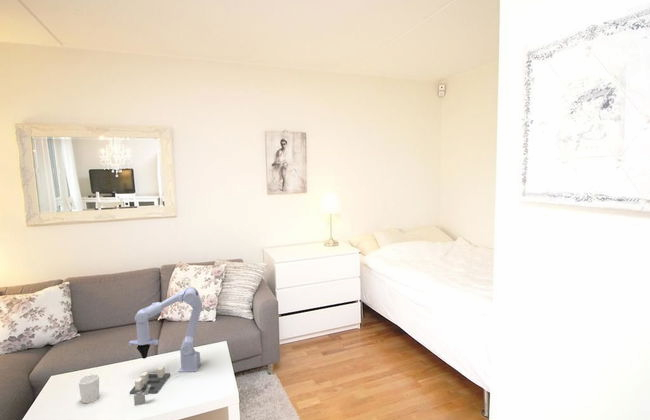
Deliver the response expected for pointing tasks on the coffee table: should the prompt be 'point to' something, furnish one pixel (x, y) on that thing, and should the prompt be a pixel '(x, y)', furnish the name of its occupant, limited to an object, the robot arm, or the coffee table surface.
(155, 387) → the switch unit
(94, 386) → the white cup
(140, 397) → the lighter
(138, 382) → the switch
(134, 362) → the coffee table surface
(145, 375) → the switch
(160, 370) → the switch
